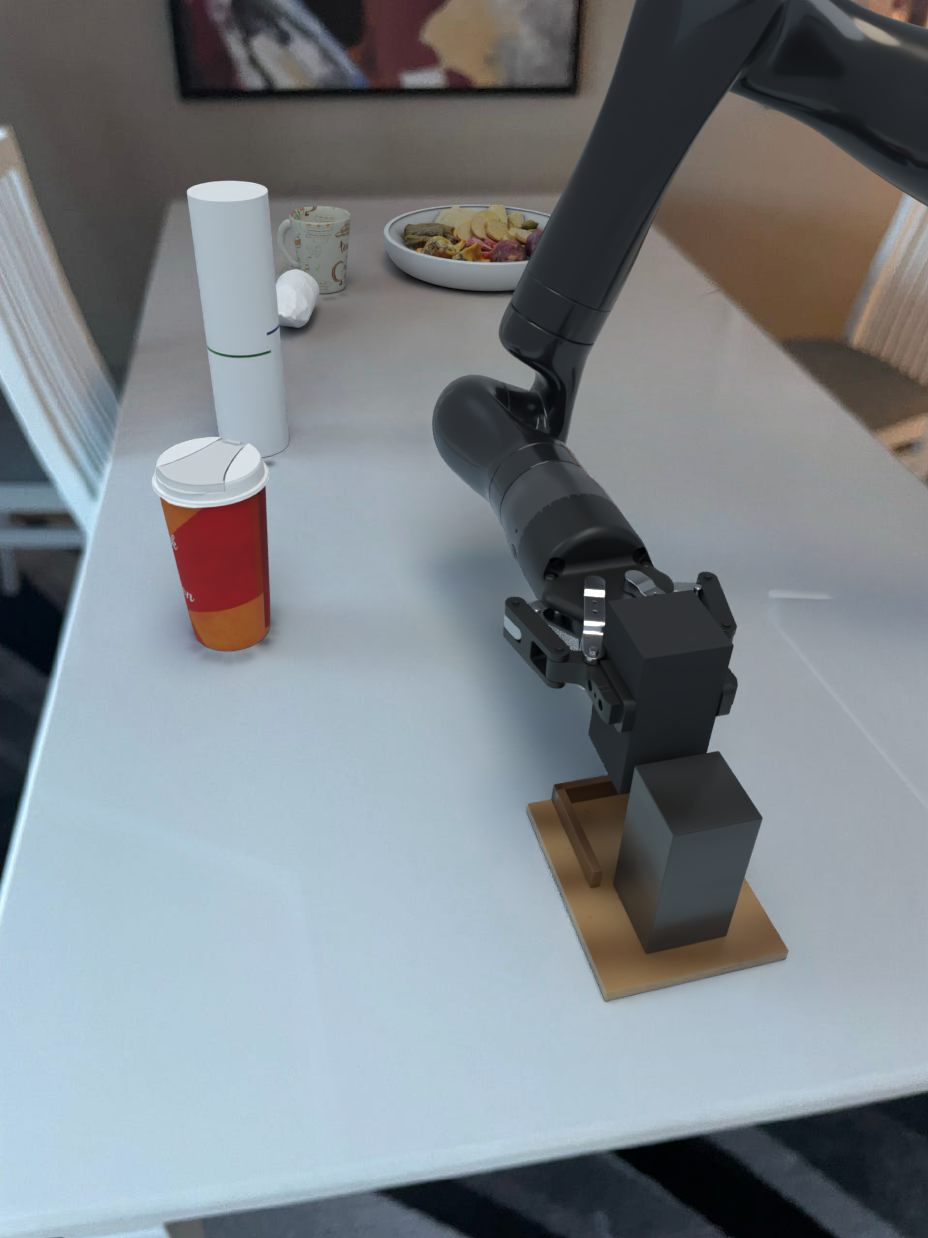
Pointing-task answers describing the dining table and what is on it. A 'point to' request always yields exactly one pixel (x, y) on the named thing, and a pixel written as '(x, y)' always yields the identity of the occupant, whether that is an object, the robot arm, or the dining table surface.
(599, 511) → the robot arm
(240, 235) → the cylindrical container
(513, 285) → the bowl
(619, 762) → the black rectangular block
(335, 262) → the mug
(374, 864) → the dining table surface
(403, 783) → the dining table surface
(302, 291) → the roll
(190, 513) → the coffee cup
